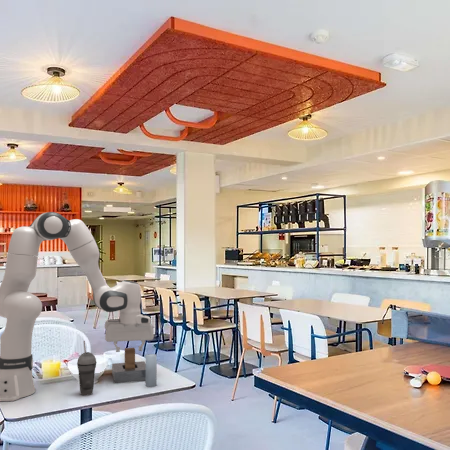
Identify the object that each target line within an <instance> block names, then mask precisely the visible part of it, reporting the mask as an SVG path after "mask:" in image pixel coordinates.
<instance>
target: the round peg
mask: <svg viewBox="0 0 450 450" xmlns="http://www.w3.org/2000/svg"><path fill="white" fill-rule="evenodd" d="M157 360H158V359H157V354H156V353H152V354H151V353H150V354H146V355H145V364H146V381H145V384H144V385H145V387H147V388H155V387H156V386H157V384H158V383H157V379H158V378H157V370H158V369H157V363H158V362H157Z"/></svg>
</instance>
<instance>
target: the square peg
mask: <svg viewBox="0 0 450 450" xmlns="http://www.w3.org/2000/svg"><path fill="white" fill-rule="evenodd" d="M135 362H136V348H135V347H124V363H125V369H129V368H135Z"/></svg>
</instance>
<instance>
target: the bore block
mask: <svg viewBox="0 0 450 450" xmlns="http://www.w3.org/2000/svg"><path fill="white" fill-rule="evenodd" d="M111 375H112V379H113V383H114V384H121V383H122V384H123V383H131V382H132V383H134V382H136V383H137V382H144V381H145V382H146V361H144V360H143V361H135V368H129V369H125V362H117V363H112V364H111Z"/></svg>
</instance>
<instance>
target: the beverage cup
mask: <svg viewBox="0 0 450 450" xmlns="http://www.w3.org/2000/svg"><path fill="white" fill-rule="evenodd" d="M86 348H87V347H86V340H83V349H84V352H82V353H81V354H80V355H79V356H78V358H77V363H76V365H77V370H78V381H79V392H80V396H91V395H93V393H94V386H95V385H94V384H95V373H96V368H97V358H96V356H95V355H94V354H93V353H92V352H89V351H88V352H87V351H86Z"/></svg>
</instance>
